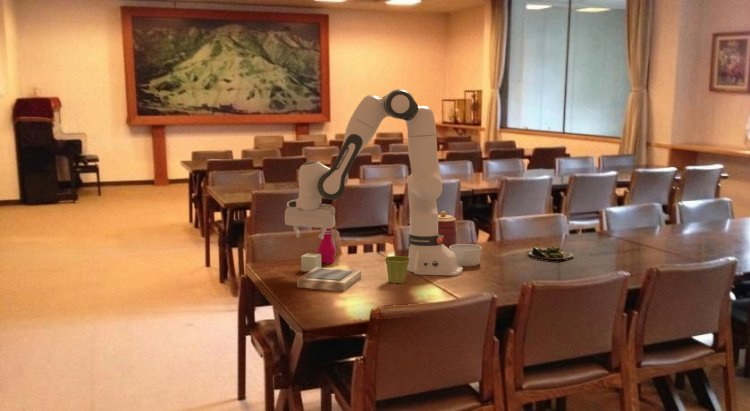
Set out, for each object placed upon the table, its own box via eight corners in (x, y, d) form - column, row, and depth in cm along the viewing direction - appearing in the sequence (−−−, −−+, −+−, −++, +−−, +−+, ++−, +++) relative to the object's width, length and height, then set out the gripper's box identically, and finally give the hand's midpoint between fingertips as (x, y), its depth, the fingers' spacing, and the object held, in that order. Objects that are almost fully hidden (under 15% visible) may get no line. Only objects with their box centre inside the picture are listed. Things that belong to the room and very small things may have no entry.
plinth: (361, 278, 253) (360, 270, 253) (344, 291, 236) (344, 282, 236) (316, 274, 259) (316, 266, 258) (297, 287, 242) (297, 278, 241)
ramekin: (444, 265, 275) (444, 248, 274) (455, 258, 286) (456, 242, 285) (475, 268, 269) (475, 251, 268) (485, 261, 280) (486, 245, 279)
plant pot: (394, 277, 256) (394, 254, 254) (414, 281, 250) (415, 258, 248) (379, 282, 248) (379, 259, 247) (399, 286, 243) (399, 262, 241)
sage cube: (321, 268, 269) (321, 254, 268) (315, 272, 263) (315, 257, 262) (307, 267, 270) (307, 253, 270) (301, 271, 265) (301, 256, 264)
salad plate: (545, 250, 303) (546, 240, 303) (581, 256, 291) (582, 246, 290) (520, 257, 290) (521, 246, 290) (557, 264, 277) (558, 253, 277)
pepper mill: (336, 260, 283) (336, 213, 280) (334, 264, 276) (333, 215, 273) (319, 259, 283) (319, 212, 280) (316, 263, 276) (315, 215, 273)
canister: (422, 248, 305) (423, 210, 303) (447, 246, 311) (448, 208, 308) (437, 254, 294) (438, 214, 291) (462, 251, 299) (463, 212, 297)
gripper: (337, 203, 263) (337, 238, 265) (289, 200, 269) (289, 234, 271) (332, 205, 257) (331, 241, 259) (282, 202, 263) (282, 237, 265)
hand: (309, 237), depth 265 cm, fingers open, 8 cm apart
